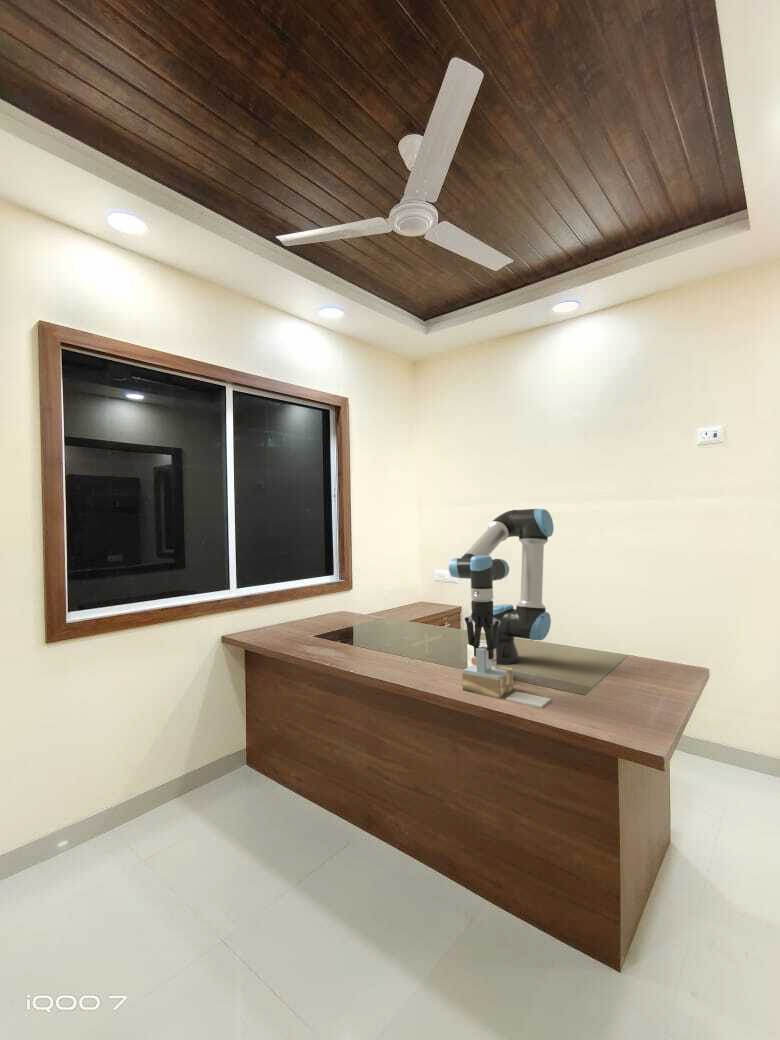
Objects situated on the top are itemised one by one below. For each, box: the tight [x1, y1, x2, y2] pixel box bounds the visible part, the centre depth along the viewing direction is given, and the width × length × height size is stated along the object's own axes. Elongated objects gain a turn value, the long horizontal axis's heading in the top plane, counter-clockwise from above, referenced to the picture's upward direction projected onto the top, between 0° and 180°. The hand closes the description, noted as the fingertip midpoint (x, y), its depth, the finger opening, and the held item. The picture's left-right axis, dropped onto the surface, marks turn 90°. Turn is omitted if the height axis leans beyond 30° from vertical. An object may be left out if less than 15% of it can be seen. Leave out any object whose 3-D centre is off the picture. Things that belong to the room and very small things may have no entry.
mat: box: [505, 690, 551, 709], centre depth 157 cm, size 8×12×1 cm, turn 51°
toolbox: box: [461, 664, 514, 699], centre depth 168 cm, size 11×14×7 cm
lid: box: [462, 646, 508, 680], centre depth 168 cm, size 9×13×10 cm
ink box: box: [466, 639, 498, 668], centre depth 184 cm, size 9×8×13 cm
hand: (483, 667), depth 167 cm, fingers closed on lid, 3 cm apart
